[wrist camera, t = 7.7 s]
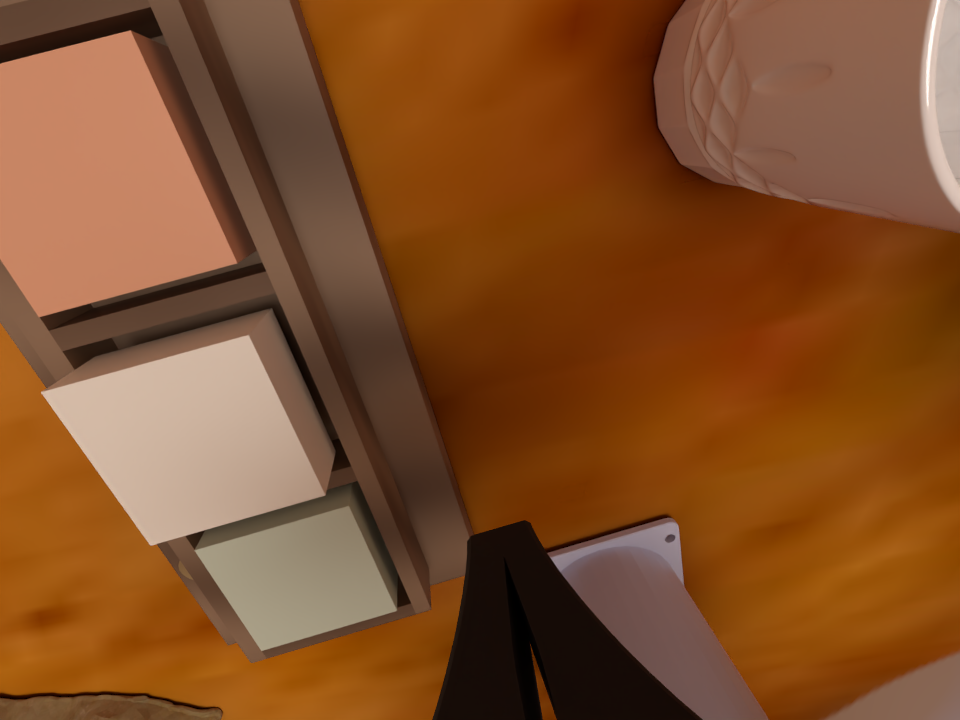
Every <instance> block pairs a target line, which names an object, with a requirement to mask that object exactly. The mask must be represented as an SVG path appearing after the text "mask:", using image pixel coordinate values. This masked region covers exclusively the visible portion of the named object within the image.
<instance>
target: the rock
mask: <svg viewBox="0 0 960 720" xmlns="http://www.w3.org/2000/svg"><path fill="white" fill-rule="evenodd" d="M221 718H222V711H221V710H220V709H219V708H211V709H195V708H191V707H188V706H183V705H174V704H173V703H172V702H169V701H165V700H160V699H153V698H149V697H147V696H121V695H99V696H94V695H83V696H76V697H55V696H40V697H32V698H29V699H19V700H13V699H4V698H0V720H221Z"/></svg>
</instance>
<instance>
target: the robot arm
mask: <svg viewBox="0 0 960 720" xmlns="http://www.w3.org/2000/svg"><path fill="white" fill-rule="evenodd" d="M668 535H669V536H668ZM529 641H530V642H529ZM530 644H531V647H532V650H533V652H534V655H535V658H536V661H537V664H538V667H539V670H540V673H541V675H542V678H543V681H544V684H545V687H546V690H547V693H548V695H549V698H550V701H551V704H552V707H553V710H554V713H555V715H556V718H557V720H769V719H768V717H767V716H766V714H765V713H764V711H763V709H762V708H761V706H760V705H759V703H758V702H757V700H756V699H755V697H754V695H753V694H752V692H751V691H750V689H749V688H748V686H747V684H746V683H745V681H744V680H743V678H742V677H741V675H740V673H739V672H738V670H737V669H736V667H735V666H734V664H733V663H732V661H731V659H730V658H729V656H728V655H727V653H726V652H725V650H724V648H723V647H722V645H721V644H720V642H719V641H718V639H717V637H716V636H715V634H714V633H713V631H712V630H711V628H710V627H709V625H708V623H707V622H706V620H705V619H704V617H703V616H702V614H701V612H700V611H699V609H698V608H697V606H696V605H695V603H694V601H693V600H692V598H691V597H690V595H689V594H688V592H687V590H686V589H685V587H684V579H683V568H682V557H681V546H680V535H679V526H678V524H677V523H676V521H675V520H674V519H672V518H664V519H661V520H657V521H654V522H650V523H647V524H644V525H640V526H637V527H633V528H630V529H627V530H623V531H620V532H617V533H613V534H610V535H606V536H603V537H600V538H596V539H593V540H589V541H586V542H583V543H579V544H576V545H573V546H569V547H566V548H562V549H559V550H556V551H552V552H549V553H547V552H546V551H545V549H544V547H543V546H542V544H541V543H540V541H539V539H538V537H537V536H536V534H535V532H534V530H533V528H532V526H531V523H529V522H527V521H525V520H524V521H520V522H517V523H513V524H510V525H507V526H503V527H500V528H496V529H493V530H489V531H486V532H483V533H479V534H476V535H472V536H470V538H469V539H468V541H467V561H466V572H465V580H464V587H463V595H462V600H461V606H460V611H459V617H458V622H457V628H456V633H455V637H454V641H453V646H452V650H451V654H450V658H449V662H448V666H447V670H446V674H445V678H444V682H443V686H442V689H441V693H440V696H439V700H438V703H437V707H436V710H435V713H434V716H433V719H432V720H543V719H542V713H541V707H540V701H539V695H538V689H537V683H536V677H535V671H534V665H533V659H532V653H531V647H530Z"/></svg>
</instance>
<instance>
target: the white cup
mask: <svg viewBox="0 0 960 720" xmlns="http://www.w3.org/2000/svg"><path fill="white" fill-rule="evenodd" d="M653 80H654V91H655V101H656V111H657V121H658V128H659V130H660V131H661V133H662V135H663V136H664V138H665V140H666V141H667V143H668V145H669V146H670V148H671V150H672V151H673V153H674V155H675V156H676V158H677V160H678V161H679V163H680V164H681V165H683V166H685V167H687V168H689V169H691V170H692V171H694V172H696V173H698V174H700V175H702V176H704V177H705V178H707V179H709V180H711V181H713V182H716V183H721V184H727V185H733V186H739V187H745V188H748V189H750V190H753V191H756V192H760V193H763V194H767V195H770V196H774V197H779V198H785V199H791V200H796V201H800V202H803V203H807V204H811V205H815V206H819V207H824V208H829V209H834V210H840V211H845V212H850V213H856V214H861V215H866V216H871V217H877V218H882V219H887V220H892V221H898V222H903V223H908V224H913V225H919V226H924V227H929V228H934V229H939V230H944V231H950V232H955V233H960V0H685V2H684V3H683V5H682V6H681V7H680V9H679V10H678V12H677V13H676V14H675V16H674V17H673V18H672V20H671V21H670V23H669V24H668V27H667V31H666V34H665V38H664V41H663V45H662V49H661V52H660V56H659V59H658V63H657V67H656V70H655V74H654V78H653Z"/></svg>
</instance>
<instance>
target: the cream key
mask: <svg viewBox="0 0 960 720" xmlns="http://www.w3.org/2000/svg"><path fill="white" fill-rule="evenodd" d="M41 393H42V394H43V396H44V397H45V399H46V400H47V401H48V403H49V404H50V406H51V407H52V408H53V410H54V411H55V413H56V414H57V415H58V417H59V418H60V420H61V421H62V422H63V424H64V425H65V427H66V428H67V429H68V431H69V432H70V434H71V435H72V436H73V438H74V439H75V441H76V442H77V443H78V445H79V446H80V448H81V449H82V450H83V452H84V453H85V455H86V456H87V457H88V459H89V460H90V462H91V463H92V464H93V466H94V467H95V469H96V470H97V471H98V473H99V474H100V476H101V477H102V478H103V480H104V481H105V483H106V484H107V485H108V487H109V488H110V490H111V491H112V492H113V494H114V495H115V497H116V498H117V499H118V501H119V502H120V504H121V505H122V506H123V508H124V509H125V511H126V512H127V513H128V515H129V516H130V518H131V519H132V520H133V522H134V523H135V525H136V526H137V527H138V529H139V530H140V532H141V533H142V534H143V536H144V537H145V539H146V540H147V541H148V543H149V544H150V546H151V545H155V544H158V543H162V542H165V541H169V540H172V539H176V538H179V537H183V536H186V535H190V534H193V533H197V532H200V531H204V530H207V529H211V528H214V527H218V526H221V525H224V524H228V523H231V522H235V521H238V520H242V519H245V518H249V517H252V516H256V515H259V514H263V513H266V512H270V511H273V510H277V509H280V508H284V507H287V506H290V505H294V504H297V503H301V502H304V501H308V500H311V499H315V498H318V497H322V496H325V495H326V491H327V487H328V483H329V478H330V474H331V470H332V466H333V461H334V457H335V453H336V451H335V448H334V446H333V444H332V442H331V439H330V437H329V435H328V433H327V430H326V428H325V426H324V424H323V422H322V419H321V417H320V415H319V413H318V410H317V408H316V406H315V404H314V401H313V399H312V397H311V395H310V392H309V390H308V388H307V386H306V383H305V381H304V379H303V377H302V374H301V372H300V370H299V368H298V365H297V363H296V361H295V359H294V357H293V354H292V352H291V350H290V348H289V345H288V343H287V341H286V339H285V336H284V334H283V332H282V330H281V327H280V325H279V323H278V321H277V318H276V316H275V314H274V312H273V309H272V308H270V309H266V310H262V311H259V312H255V313H251V314H248V315H244V316H240V317H237V318H233V319H230V320H226V321H222V322H219V323H215V324H211V325H208V326H204V327H200V328H197V329H193V330H190V331H186V332H182V333H179V334H175V335H171V336H168V337H164V338H160V339H157V340H153V341H150V342H146V343H142V344H139V345H135V346H131V347H128V348H124V349H120V350H117V351H113V352H110V353H106V354H102V355H99V356H95V357H94V358H92V359H91V360H89V361H88V362H86V363H85V364H83V365H82V366H80V367H79V368H77V369H76V370H74V371H72V372H71V373H69V374H68V375H66V376H65V377H63V378H62V379H60V380H59V381H57V382H56V383H54V384H53V385H51V386H50V387H48V388H47V389H45V390H44V391H42V392H41Z"/></svg>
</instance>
